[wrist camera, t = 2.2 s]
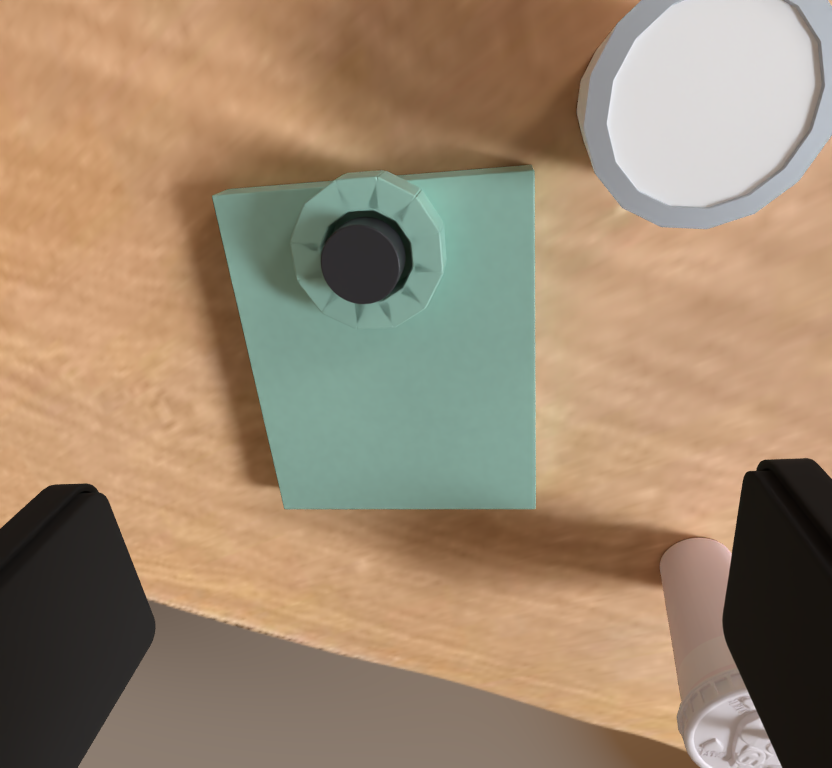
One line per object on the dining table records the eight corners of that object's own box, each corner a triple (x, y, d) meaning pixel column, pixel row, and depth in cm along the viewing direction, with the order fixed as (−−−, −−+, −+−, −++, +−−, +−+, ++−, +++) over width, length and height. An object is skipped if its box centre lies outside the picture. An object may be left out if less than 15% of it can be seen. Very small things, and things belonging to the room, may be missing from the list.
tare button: (324, 219, 23) (313, 227, 22) (401, 213, 23) (395, 221, 21) (336, 294, 24) (326, 306, 23) (409, 290, 24) (404, 303, 23)
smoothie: (787, 545, 31) (983, 856, 19) (712, 623, 34) (838, 936, 22) (676, 499, 31) (802, 786, 18) (610, 582, 33) (680, 878, 21)
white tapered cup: (528, 67, 23) (541, 62, 17) (709, -55, 21) (803, -115, 14) (606, 225, 25) (643, 272, 19) (777, 130, 23) (884, 148, 17)
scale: (224, 178, 26) (188, 191, 23) (532, 152, 24) (537, 163, 21) (293, 490, 33) (272, 532, 30) (533, 489, 31) (538, 533, 28)
